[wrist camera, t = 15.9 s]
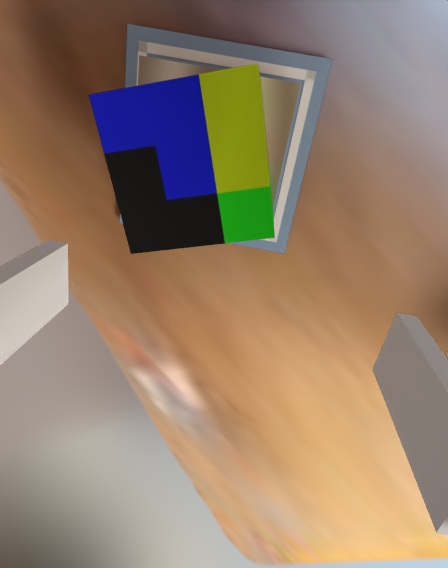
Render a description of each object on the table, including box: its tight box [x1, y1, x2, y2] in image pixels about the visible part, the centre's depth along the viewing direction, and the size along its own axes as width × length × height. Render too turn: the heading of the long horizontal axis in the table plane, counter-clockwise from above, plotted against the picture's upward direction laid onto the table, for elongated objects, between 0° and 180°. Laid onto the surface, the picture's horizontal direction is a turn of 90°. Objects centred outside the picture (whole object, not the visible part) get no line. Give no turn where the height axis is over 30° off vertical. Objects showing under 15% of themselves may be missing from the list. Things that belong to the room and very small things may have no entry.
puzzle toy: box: [89, 63, 275, 254], centre depth 27 cm, size 10×10×10 cm
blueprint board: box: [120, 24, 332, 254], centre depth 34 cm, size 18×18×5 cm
